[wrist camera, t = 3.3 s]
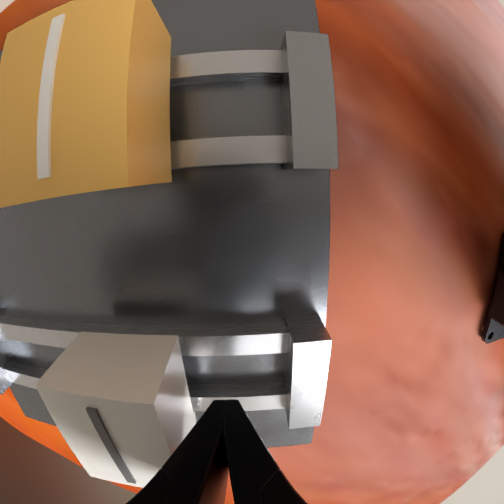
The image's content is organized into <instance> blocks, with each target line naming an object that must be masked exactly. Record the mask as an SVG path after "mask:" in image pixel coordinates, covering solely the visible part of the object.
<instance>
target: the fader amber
mask: <svg viewBox="0 0 504 504" xmlns="http://www.w3.org/2000/svg"><path fill="white" fill-rule="evenodd" d="M170 56H171V36H170V34H169V32H168V30H167V29H166V27H165V25H164V23H163V21H162V19H161V17H160V16H159V14H158V12H157V10H156V8H155V6H154V5H153V3H152V1H151V0H72V1H70V2H68V3H65V4H63V5H61V6H58V7H56V8H54V9H52V10H50V11H47V12H45V13H43V14H41V15H39V16H37V17H35V18H33V19H31V20H30V21H28V22H26V23H24V24H22V25H20V26H19V27H17V28H15V29H13V30H12V31H10V32H8V33H7V36H6V39H5V43H4V47H3V52H2V56H1V61H0V208H3V207H7V206H12V205H17V204H22V203H27V202H32V201H38V200H43V199H49V198H54V197H60V196H66V195H73V194H79V193H86V192H93V191H100V190H108V189H116V188H124V187H132V186H140V185H149V184H158V183H168V182H172V174H171V150H170Z"/></svg>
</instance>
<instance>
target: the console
mask: <svg viewBox="0 0 504 504" xmlns="http://www.w3.org/2000/svg"><path fill="white" fill-rule="evenodd" d="M151 1H152V3H153V5H154V6H155V8H156V10H157V12H158V14H159V16H160V17H161V19H162V21H163V23H164V25H165V27H166V29H167V30H168V32H169V34H170V36H171V56H170V150H171V174H172V182H168V183H158V184H149V185H140V186H132V187H124V188H116V189H108V190H100V191H93V192H86V193H79V194H73V195H66V196H60V197H54V198H49V199H43V200H38V201H32V202H27V203H22V204H17V205H12V206H7V207H3V208H0V394H1V395H2V394H3V393H4V392H5V391H6V390H7V389H8V387H9V386H10V388H11V390H12V392H13V394H14V396H15V398H16V400H17V402H18V403H19V405H20V407H21V409H22V411H23V412H24V414H25V416H26V417H29V418H32V419H35V420H38V421H41V422H44V423H48V424H51V425H54V426H56V424H55V422H54V420H53V419H52V417H51V415H50V413H49V411H48V410H47V408H46V406H45V404H44V402H43V400H42V398H41V396H40V394H39V392H38V390H37V388H36V386H35V384H36V383H37V382H38V381H39V379H40V378H41V377H42V376H43V375H44V373H45V372H46V371H47V370H48V369H49V368H50V366H51V365H52V364H53V363H54V362H55V361H56V359H57V358H58V357H59V356H60V355H61V354H62V353H63V351H64V350H65V349H66V348H67V347H68V346H69V345H70V343H71V342H72V341H73V340H74V339H75V338H76V337H77V336H78V335H79V333H80V332H81V331H82V332H96V333H113V334H136V335H178V337H179V343H180V349H181V354H182V360H183V365H184V370H185V375H186V380H187V385H188V390H189V395H190V399H191V404H192V408H193V413H194V417H195V421H196V423H197V421H198V420H199V419H200V417H201V416H202V415H203V413H204V412H205V411H206V409H207V408H208V407H209V405H210V404H211V403H212V401H213V400H230V399H237V400H239V402H240V404H241V405H242V407H243V409H244V411H245V412H246V414H247V416H248V417H249V419H250V421H251V423H252V424H253V426H254V428H255V429H256V431H257V433H258V434H259V436H260V438H261V439H262V441H263V443H264V444H265V446H266V447H280V446H291V445H300V444H308V443H311V442H312V436H313V429H314V426H320V424H321V418H322V411H323V405H324V398H325V391H326V384H327V377H328V369H329V361H330V352H331V342H332V339H331V337H330V335H329V334H328V332H327V330H326V328H325V325H326V311H327V296H328V277H329V250H330V169H338V141H337V121H336V106H335V93H334V82H333V72H332V62H331V53H330V45H329V38H328V34H321V33H320V32H319V24H318V17H317V10H316V4H315V0H151ZM2 52H3V50H1V51H0V61H1V56H2Z"/></svg>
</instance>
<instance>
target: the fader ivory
mask: <svg viewBox="0 0 504 504" xmlns="http://www.w3.org/2000/svg"><path fill="white" fill-rule="evenodd" d="M35 386H36V388H37V390H38V392H39V394H40V396H41V398H42V400H43V402H44V404H45V406H46V408H47V410H48V411H49V413H50V415H51V417H52V419H53V420H54V422H55V424H56V426H57V427H58V429H59V431H60V432H61V434H62V435H63V437H64V439H65V440H66V442H67V443H68V445H69V446H70V448H71V450H72V451H73V452H74V454H75V455H76V457H77V458H78V460H79V461H80V463H81V464H82V465H83V467H84V468H85V470H86V471H87V472H88V474H89V475H90V476H92V477H96V478H100V479H103V480H108V481H112V482H116V483H121V484H126V485H131V486H137V487H143V488H144V487H145V486H146V485H147V483H148V482H149V481H150V480H151V479H152V478H153V477H154V476H155V474H156V473H157V472H158V471H159V469H162V468H161V467H162V466H163V465H164V463H165V462H166V461H167V460H168V458H169V457H170V456H171V455H172V453H173V452H174V451H175V450H176V448H177V447H178V446H179V445H180V443H181V442H182V441H183V439H184V438H185V437H186V436H187V434H188V433H189V432H190V430H191V429H192V428H193V427H194V425H195V424H196V421H195V417H194V413H193V408H192V404H191V399H190V395H189V390H188V385H187V380H186V375H185V370H184V365H183V360H182V354H181V349H180V343H179V337H178V335H136V334H113V333H96V332H82V331H81V332H80V333H79V335H78V336H77V337H76V338H75V339H74V340H73V341H72V342H71V343H70V345H69V346H68V347H67V348H66V349H65V350H64V351H63V353H62V354H61V355H60V356H59V357H58V358H57V359H56V361H55V362H54V363H53V364H52V365H51V366H50V368H49V369H48V370H47V371H46V372H45V373H44V375H43V376H42V377H41V378H40V379H39V381H38V382H37V383H36V384H35Z"/></svg>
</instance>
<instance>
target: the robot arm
mask: <svg viewBox="0 0 504 504" xmlns="http://www.w3.org/2000/svg"><path fill="white" fill-rule="evenodd" d="M502 338H504V233H503V236H502V241H501V249H500V256H499V262H498V268H497V274H496V279H495V284H494V289H493V294H492V298H491V302H490V306H489V310H488V314H487V318H486V322H485V325H484V329H483V332H482V336H481V339H482V340H483V341H484V342H485V343H491V342H494V341H496V340H499V339H502ZM161 468H162V469H159V471H158V472H157V473H156V474H155V476H154V477H153V478H152V479H151V480H150V481H149V482H148V483H147V485H146V486H145V487H144V488H143V489H142V490H141V491H139V492H138V493H137V494H136V495H135V496H134V497H133V498H132V499H131V500H129V501H128V502H127V503H126V504H224V502H225V494H226V487H227V479H228V472H229V474H230V480H231V486H232V491H233V497H234V502H235V504H307V503H306V502H305V500H304V499H303V498H302V497H301V496H300V495H299V494H298V493H297V492H296V490H295V489H294V488H293V486H292V485H291V484H290V482H289V481H288V480H287V478H286V477H285V475H284V474H283V472H282V471H281V470H280V468H279V466H278V465H277V463H276V462H275V460H274V459H273V457H272V455H271V454H270V452H269V451H268V449H267V447H266V446H265V444H264V443H263V441H262V439H261V438H260V436H259V434H258V433H257V431H256V429H255V428H254V426H253V424H252V423H251V421H250V419H249V417H248V416H247V414H246V412H245V411H244V409H243V407H242V405H241V404H240V402H239V400H237V399H230V400H213V401H212V403H211V404H210V405H209V407H208V408H207V409H206V411H205V412H204V413H203V415H202V416H201V417H200V419H199V420H198V421H197V423H196V424H195V425H194V427H193V428H192V429H191V430H190V432H189V433H188V434H187V436H186V437H185V438H184V439H183V441H182V442H181V443H180V445H179V446H178V447H177V448H176V450H175V451H174V452H173V453H172V455H171V456H170V457H169V458H168V460H167V461H166V462H165V463H164V465H163V466H162V467H161Z"/></svg>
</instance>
